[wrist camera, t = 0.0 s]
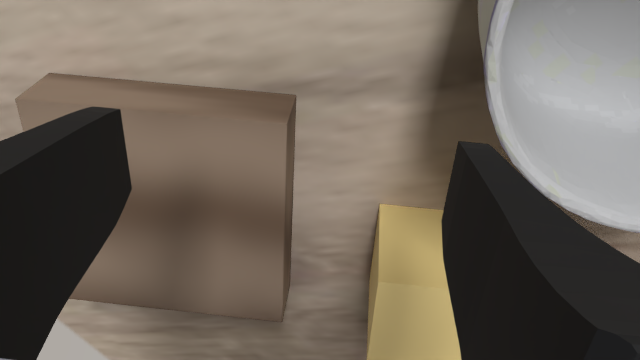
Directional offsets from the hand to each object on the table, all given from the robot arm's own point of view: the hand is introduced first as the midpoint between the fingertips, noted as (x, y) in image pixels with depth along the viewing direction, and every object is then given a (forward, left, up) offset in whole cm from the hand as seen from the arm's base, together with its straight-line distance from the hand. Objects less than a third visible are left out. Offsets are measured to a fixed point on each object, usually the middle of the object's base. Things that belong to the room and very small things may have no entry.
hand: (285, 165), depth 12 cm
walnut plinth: (-8, +6, -10) cm, 14 cm away
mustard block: (-10, -5, -10) cm, 15 cm away
